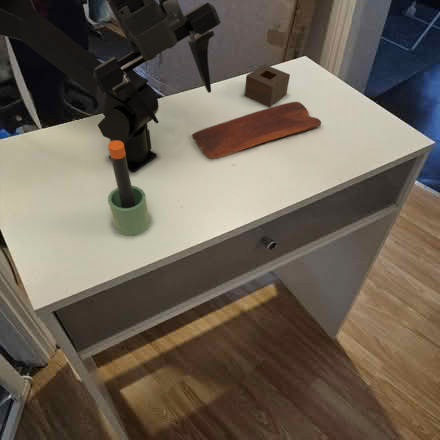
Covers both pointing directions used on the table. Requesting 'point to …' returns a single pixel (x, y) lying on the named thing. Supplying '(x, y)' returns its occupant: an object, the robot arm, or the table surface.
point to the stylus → (121, 173)
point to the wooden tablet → (254, 129)
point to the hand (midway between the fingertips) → (183, 107)
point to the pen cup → (129, 213)
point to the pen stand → (266, 85)
